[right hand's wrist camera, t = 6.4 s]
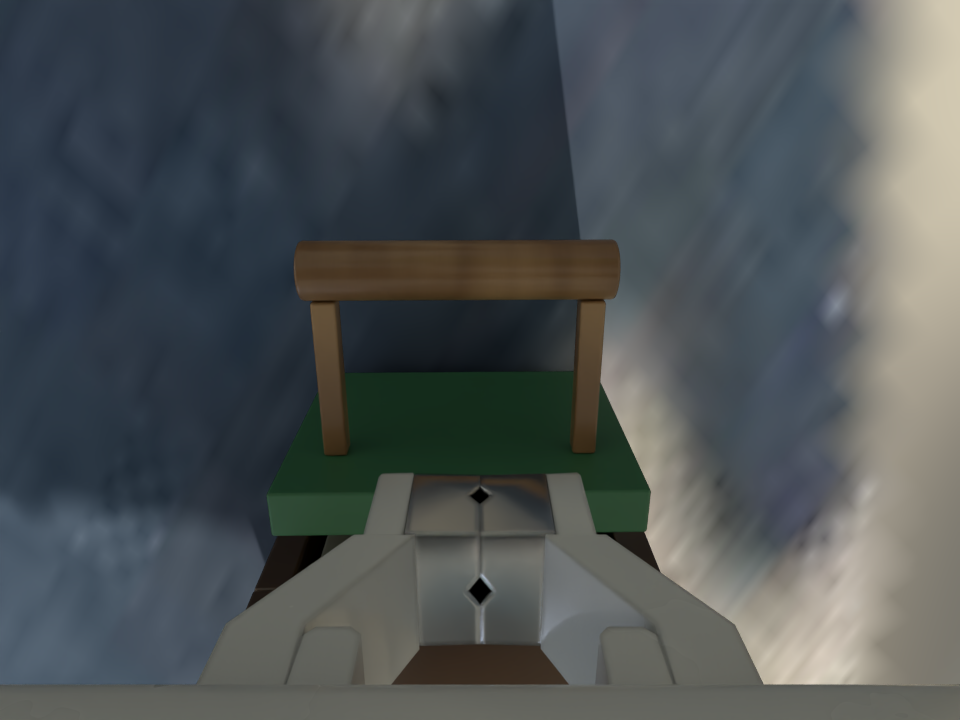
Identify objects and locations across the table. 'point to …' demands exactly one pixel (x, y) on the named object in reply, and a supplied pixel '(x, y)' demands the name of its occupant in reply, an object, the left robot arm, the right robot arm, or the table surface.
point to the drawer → (453, 386)
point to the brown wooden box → (442, 660)
